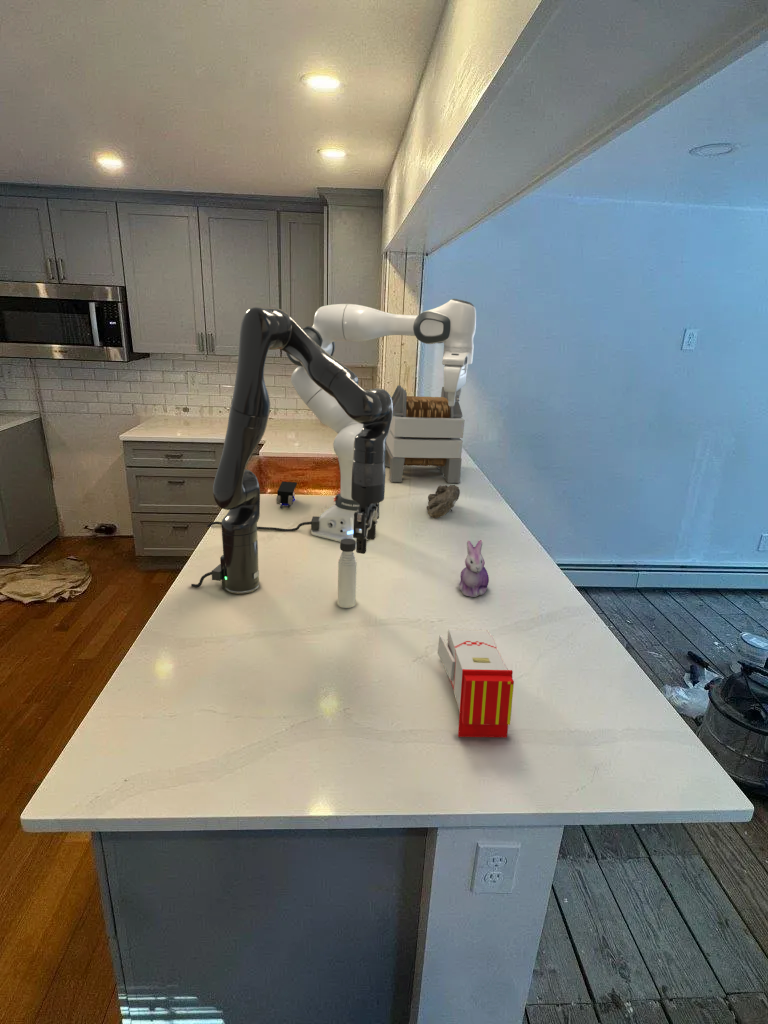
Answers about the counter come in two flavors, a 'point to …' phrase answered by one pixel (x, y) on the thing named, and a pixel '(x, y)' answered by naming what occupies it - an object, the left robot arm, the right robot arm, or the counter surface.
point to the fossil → (442, 500)
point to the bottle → (347, 580)
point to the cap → (347, 545)
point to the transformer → (424, 435)
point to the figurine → (474, 572)
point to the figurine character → (286, 494)
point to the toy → (478, 682)
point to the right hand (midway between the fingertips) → (454, 403)
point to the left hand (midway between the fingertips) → (365, 545)
